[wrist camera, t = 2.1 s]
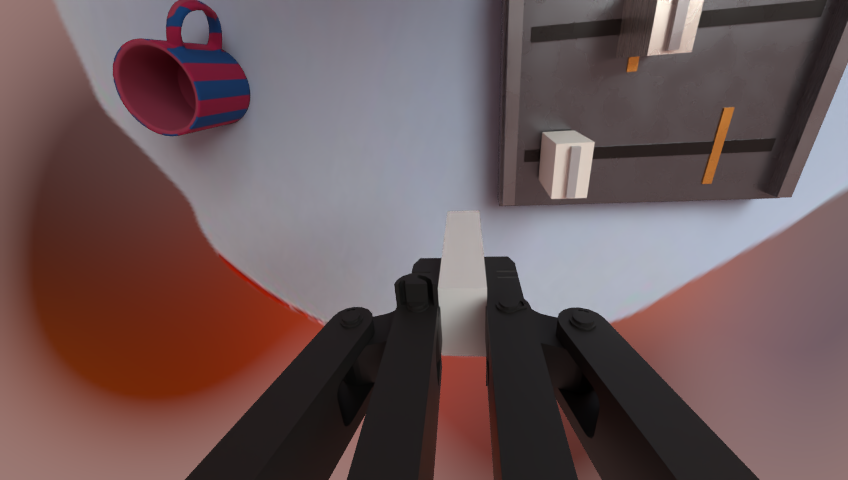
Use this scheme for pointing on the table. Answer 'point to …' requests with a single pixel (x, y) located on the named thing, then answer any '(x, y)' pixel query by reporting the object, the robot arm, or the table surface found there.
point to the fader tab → (565, 164)
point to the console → (668, 94)
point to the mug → (181, 78)
